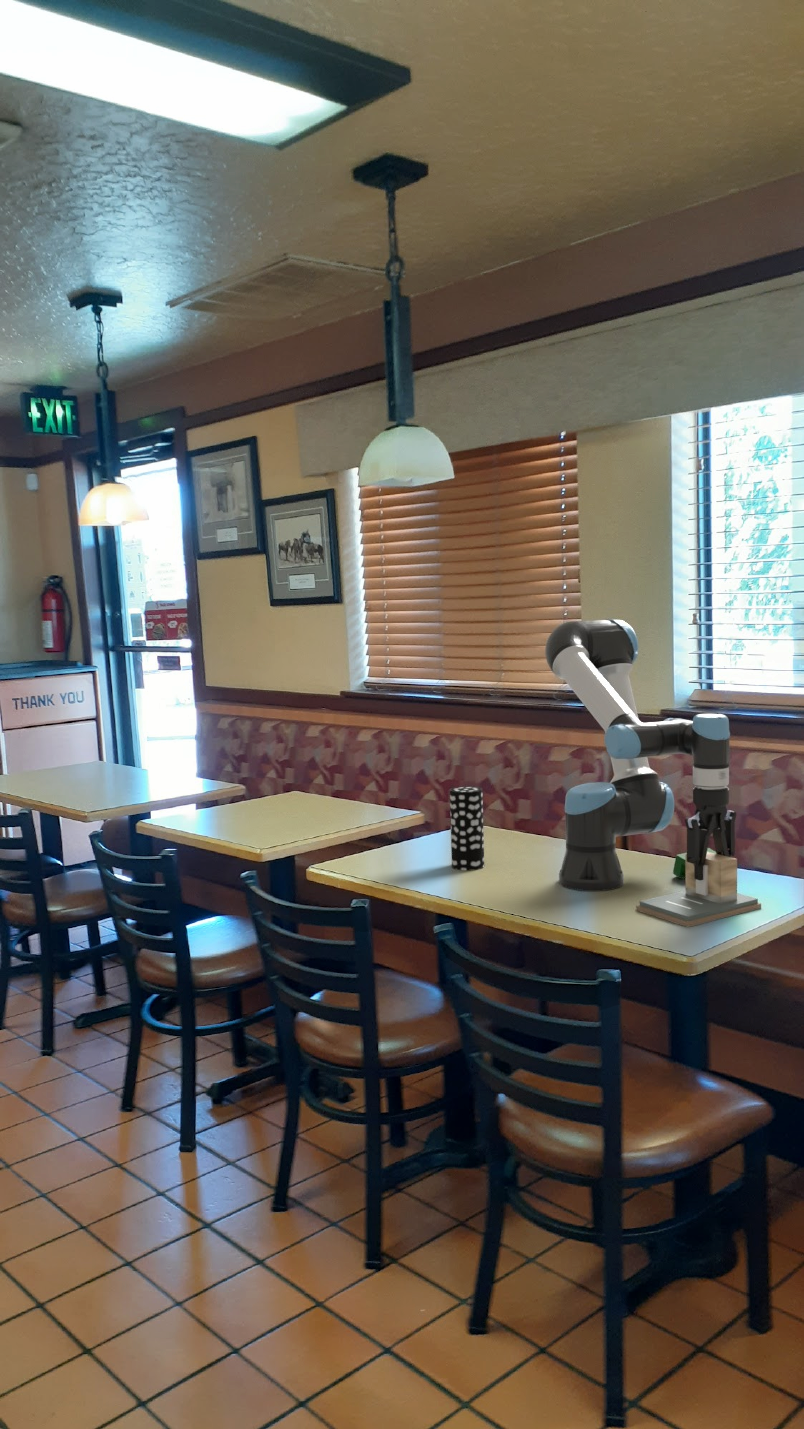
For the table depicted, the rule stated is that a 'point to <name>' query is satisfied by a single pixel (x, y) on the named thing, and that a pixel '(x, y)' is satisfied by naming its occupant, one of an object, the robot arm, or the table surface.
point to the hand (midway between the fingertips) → (710, 891)
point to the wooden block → (715, 878)
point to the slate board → (695, 908)
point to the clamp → (682, 864)
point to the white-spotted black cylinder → (467, 828)
